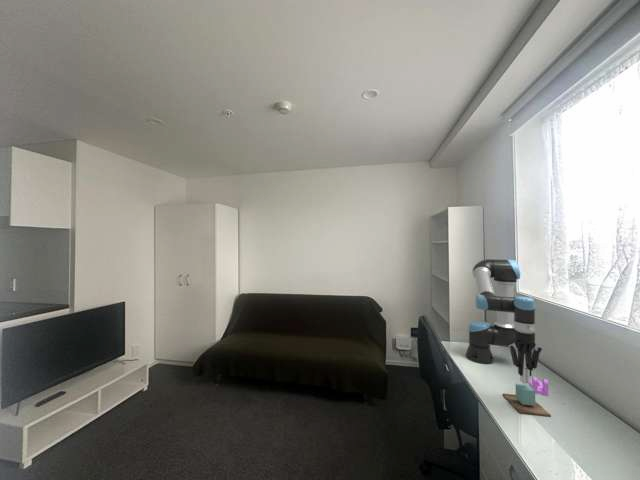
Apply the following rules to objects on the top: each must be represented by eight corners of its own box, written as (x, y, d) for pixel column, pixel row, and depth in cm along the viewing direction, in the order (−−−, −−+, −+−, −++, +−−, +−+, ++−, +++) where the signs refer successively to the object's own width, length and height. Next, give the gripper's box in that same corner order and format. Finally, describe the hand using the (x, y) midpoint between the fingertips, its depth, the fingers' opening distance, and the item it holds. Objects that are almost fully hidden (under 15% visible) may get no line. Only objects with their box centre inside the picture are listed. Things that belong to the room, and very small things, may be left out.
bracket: (548, 396, 126) (548, 381, 126) (533, 392, 129) (533, 378, 129) (541, 383, 137) (541, 370, 137) (528, 380, 140) (528, 367, 140)
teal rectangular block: (515, 397, 121) (515, 383, 121) (527, 398, 120) (527, 384, 120) (522, 404, 116) (522, 389, 116) (535, 405, 115) (535, 390, 115)
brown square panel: (502, 395, 126) (502, 379, 126) (529, 397, 124) (529, 381, 124) (519, 413, 112) (519, 395, 112) (550, 416, 110) (550, 398, 110)
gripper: (512, 332, 116) (512, 385, 116) (547, 334, 114) (547, 388, 113) (503, 327, 124) (503, 377, 123) (536, 329, 121) (536, 379, 121)
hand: (524, 382), depth 118 cm, fingers closed
